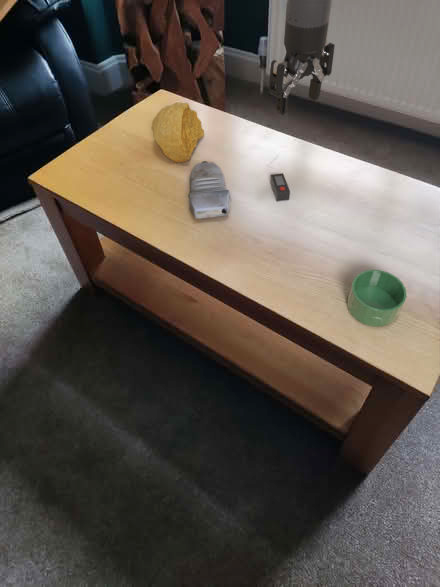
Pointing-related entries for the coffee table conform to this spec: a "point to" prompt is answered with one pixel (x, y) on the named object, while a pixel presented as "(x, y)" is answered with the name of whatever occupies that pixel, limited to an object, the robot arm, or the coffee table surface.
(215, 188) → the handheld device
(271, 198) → the coffee table surface
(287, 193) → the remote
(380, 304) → the bowl
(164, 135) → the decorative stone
